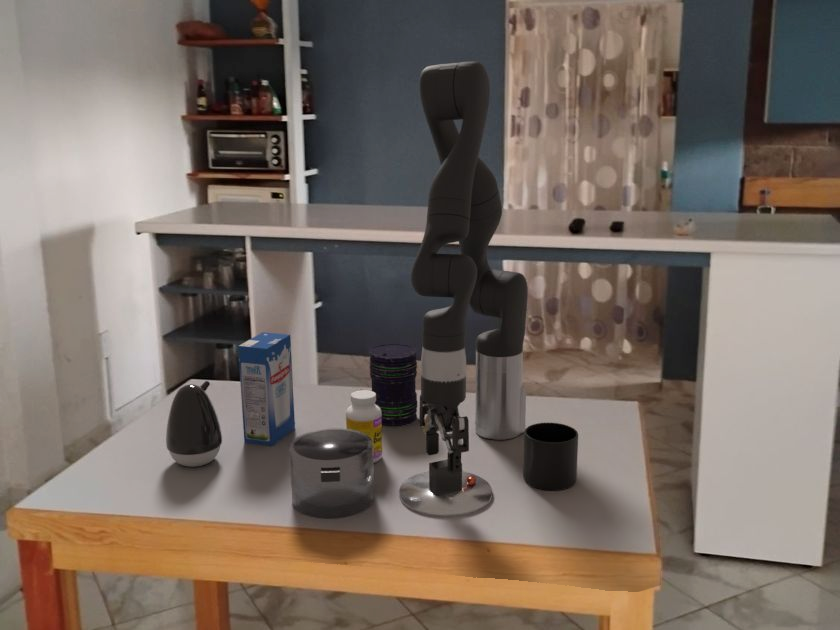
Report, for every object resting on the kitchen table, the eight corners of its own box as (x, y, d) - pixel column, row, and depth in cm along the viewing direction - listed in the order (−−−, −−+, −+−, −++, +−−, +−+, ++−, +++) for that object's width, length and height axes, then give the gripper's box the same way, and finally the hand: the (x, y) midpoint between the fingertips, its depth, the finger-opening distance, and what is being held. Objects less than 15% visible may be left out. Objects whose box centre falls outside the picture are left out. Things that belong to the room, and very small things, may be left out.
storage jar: (390, 406, 194) (388, 341, 190) (426, 416, 188) (426, 348, 184) (361, 420, 186) (359, 352, 182) (398, 431, 180) (397, 361, 176)
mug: (576, 464, 164) (578, 418, 162) (576, 493, 153) (578, 444, 151) (525, 460, 166) (526, 415, 164) (521, 489, 155) (522, 441, 152)
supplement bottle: (377, 467, 164) (376, 401, 160) (343, 464, 165) (340, 399, 162) (386, 452, 170) (384, 389, 167) (352, 449, 172) (350, 387, 168)
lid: (464, 469, 163) (464, 438, 162) (509, 506, 149) (509, 472, 148) (384, 486, 157) (384, 454, 155) (423, 526, 143) (423, 491, 141)
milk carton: (272, 446, 173) (266, 348, 168) (244, 442, 175) (237, 345, 170) (295, 427, 183) (290, 334, 177) (268, 424, 185) (262, 331, 179)
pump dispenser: (235, 455, 170) (230, 379, 166) (200, 476, 161) (194, 397, 157) (192, 446, 174) (186, 372, 170) (156, 467, 165) (149, 390, 161)
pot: (295, 477, 160) (292, 425, 157) (373, 474, 161) (371, 422, 158) (288, 525, 143) (285, 468, 140) (375, 521, 144) (374, 464, 141)
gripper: (483, 382, 143) (482, 475, 147) (444, 358, 155) (444, 444, 159) (442, 388, 139) (441, 483, 144) (405, 363, 152) (406, 451, 156)
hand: (442, 462), depth 151 cm, fingers open, 8 cm apart
